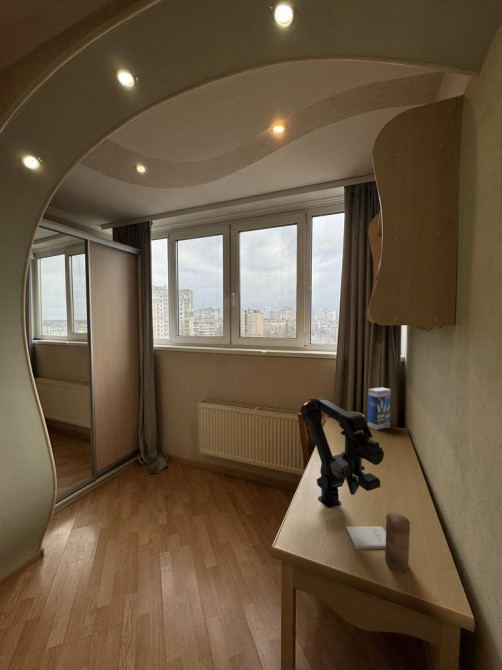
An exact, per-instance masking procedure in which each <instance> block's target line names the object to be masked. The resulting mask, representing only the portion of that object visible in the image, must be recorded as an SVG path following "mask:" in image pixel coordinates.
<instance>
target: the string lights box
mask: <svg viewBox="0 0 502 670" xmlns="http://www.w3.org/2000/svg"><path fill="white" fill-rule="evenodd" d="M391 392H392V390H391V388H385V387H383V386H382V387H374V388H368V397H367V398H368V399H367V401H368V402H367V405H368V406H367V410H368V411H367V426H368V428H372V429H374V430H376V431H377V430H381V429H385V428H387V429H388V428H390V427H391V395H392V393H391Z"/></svg>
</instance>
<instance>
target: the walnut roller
mask: <svg viewBox="0 0 502 670" xmlns="http://www.w3.org/2000/svg"><path fill="white" fill-rule="evenodd" d="M385 519H386V521H385V532H386V547H385V548H384V549H385V551H384V552H385V554H384V559H385V563H386V565H387V566H388V567H390V568H391V569H392V570H394V571H397V572H399V573H405V572H407V571H408V570H409V562H410V561H409V557H410V555H409V554H410V529H411V527H410V526H411V525H410V524H411V522H410V521H409V519H408V518H407V517H406V516H404V515H402V514H401V513H398V512H388V513H387V514H386V518H385Z"/></svg>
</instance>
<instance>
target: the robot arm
mask: <svg viewBox="0 0 502 670" xmlns="http://www.w3.org/2000/svg"><path fill="white" fill-rule="evenodd" d="M354 412H355V411H347V410H344V409H343V408H341V407H340V406H338V405H336V404H334V403H333V402H331V401H330V400H328V399H327V398H325V397H318V398H315V399H313V400H312V401H309V402H308V403H306V404H302V406H301V408H300V415H301V417H302V419H303V421H304V423H305V424H306V425H307V426H309V428H310V429H309V430H310V431H311V434H312V437H313V440H314V443H315V447H316V450H317V454H318V455H319V459H320V462H321V466H320V469H319V472H320V476H319V477H318V478H317V479H316V485H317V486H318V487H319V488H320V491H321V493H320V494H321V495H320V496H318V497H317V499H318V500H319V501H320V502H321V503H323V505H324V506H325V507H326V508H328V509H330V508H334V507H335V506H339V505H342V502H341V500H340V499H339V498H340V497H339V496H340V494H339V488H341V487H343V485H344V483H345V481H346V484H347V487H348V490H349V492H350V495H352V496H354V495H356V492H357V491H358V489H359V487H360V488H362V489H363V490H364V491H368V492H369V491H373V490H375V489H379V488H381V479H379V477H377V476H375V475H374V474H372V473H371V472H370V473H366V472H364V471H365V466H364V465H363V459H364V460H366V461H368V462H369V463H371V464H372V465H375V466H378V465H380V464H381V463H382V462H383V459H384V456H385V452H384V449H383V448H382V447H381V446H380V443H379V442H378V441H376V440H373V439H372V438H373V434H372V432H371V429H370V427H369V426H368V422H366V419H365V416H364V417H363V416H362V415H360V414H357V413H354ZM323 413H324V414H326V415H327V416H329V417H330V418H332V419H333V420H335V421H336V422H337V423H338V425H339V427H340V428H341V430H342V431H340V434H341V435H342V436H344V451H342V452H341V454H340V453H339V454H335V455H333V454H332V451H331V448H330V445H329V441H328V439H327V436H326V433H325V431H324V427H323V424H322V420H323ZM356 432H360V433H356Z"/></svg>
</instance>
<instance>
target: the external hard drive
mask: <svg viewBox="0 0 502 670" xmlns="http://www.w3.org/2000/svg"><path fill="white" fill-rule="evenodd" d="M345 531H346V533H347V535H348V537H349V540H350V541H351V543H352V545H353V548H354V549H355V550H363V549H368V550H369V549H372V550H375V549H377V550H378V549H385V547H386V530H385V529H384V528H383V526H345Z"/></svg>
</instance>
